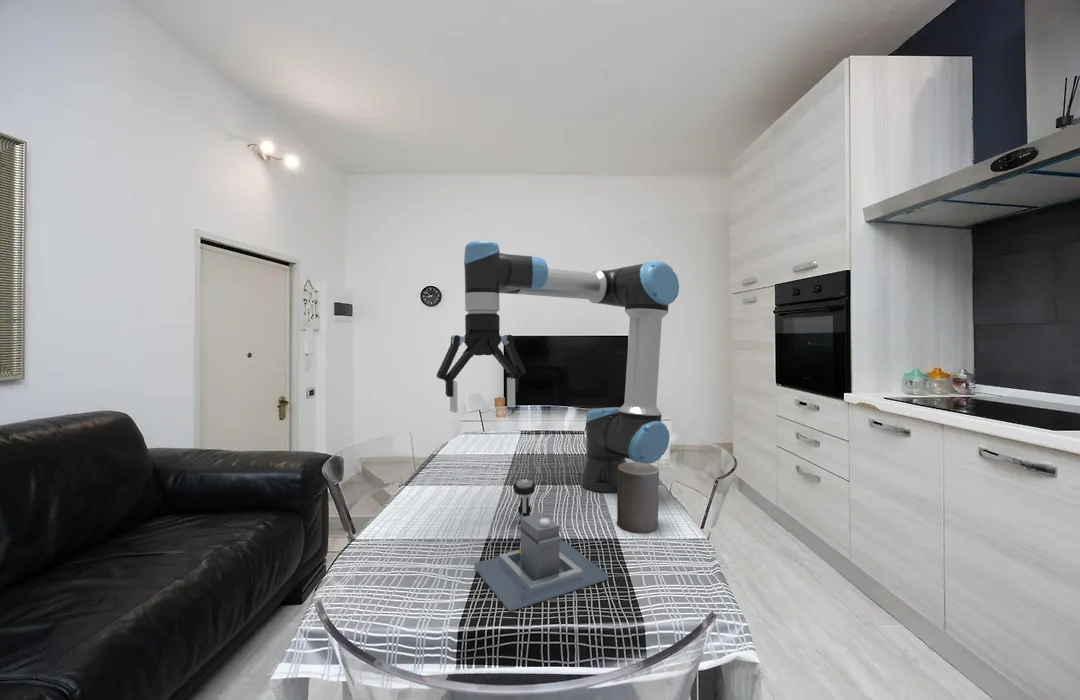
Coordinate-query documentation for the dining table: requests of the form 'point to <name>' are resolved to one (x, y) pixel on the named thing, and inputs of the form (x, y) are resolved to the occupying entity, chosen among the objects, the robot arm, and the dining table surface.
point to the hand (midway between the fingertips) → (483, 409)
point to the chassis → (525, 589)
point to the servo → (540, 545)
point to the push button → (524, 495)
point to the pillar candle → (637, 497)
